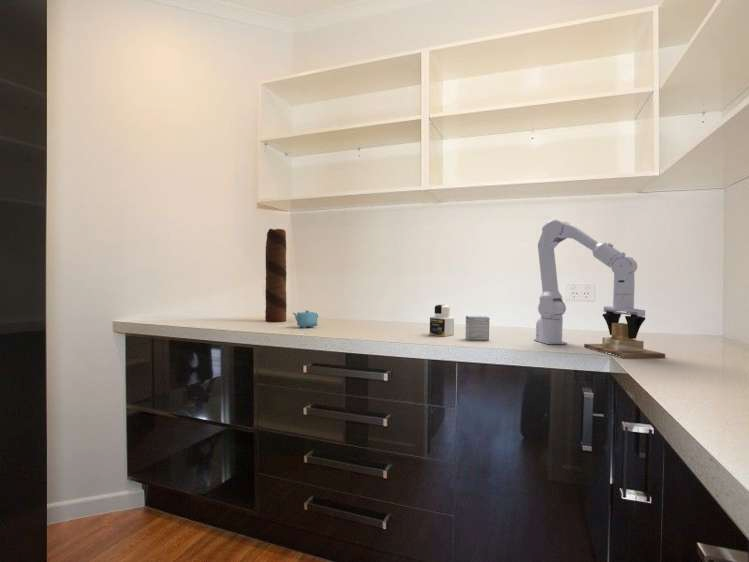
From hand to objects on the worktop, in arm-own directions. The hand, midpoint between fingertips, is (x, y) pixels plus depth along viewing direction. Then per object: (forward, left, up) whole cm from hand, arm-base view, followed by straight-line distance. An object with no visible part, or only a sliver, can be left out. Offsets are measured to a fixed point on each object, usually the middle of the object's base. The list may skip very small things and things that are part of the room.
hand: (622, 336), depth 130 cm
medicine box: (-27, -38, -5) cm, 47 cm away
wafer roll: (-85, -118, -5) cm, 146 cm away
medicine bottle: (-39, -48, -5) cm, 62 cm away
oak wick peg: (0, 0, -4) cm, 4 cm away
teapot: (-62, -103, -5) cm, 120 cm away
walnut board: (0, 0, -5) cm, 5 cm away
